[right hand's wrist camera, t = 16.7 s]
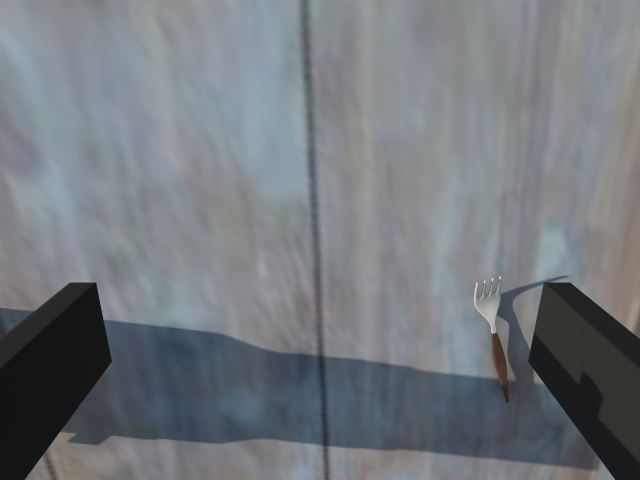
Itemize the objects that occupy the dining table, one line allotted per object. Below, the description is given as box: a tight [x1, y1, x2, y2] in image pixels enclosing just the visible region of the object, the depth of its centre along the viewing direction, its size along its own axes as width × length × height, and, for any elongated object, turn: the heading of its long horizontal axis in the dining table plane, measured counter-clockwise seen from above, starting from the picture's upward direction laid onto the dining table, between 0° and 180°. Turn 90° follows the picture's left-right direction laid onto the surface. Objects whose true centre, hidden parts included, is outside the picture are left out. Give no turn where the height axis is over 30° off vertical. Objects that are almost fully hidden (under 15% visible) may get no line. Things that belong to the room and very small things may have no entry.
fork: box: [474, 276, 509, 403], centre depth 43 cm, size 3×16×2 cm, turn 17°
